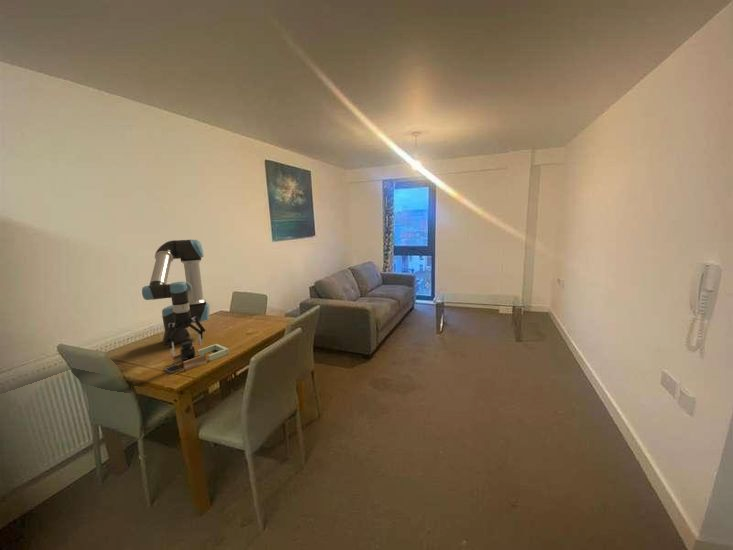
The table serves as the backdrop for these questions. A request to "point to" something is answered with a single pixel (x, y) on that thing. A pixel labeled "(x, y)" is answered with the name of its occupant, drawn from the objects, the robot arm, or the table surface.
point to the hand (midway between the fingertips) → (187, 349)
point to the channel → (190, 361)
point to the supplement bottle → (187, 351)
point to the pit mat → (173, 369)
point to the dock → (220, 353)
